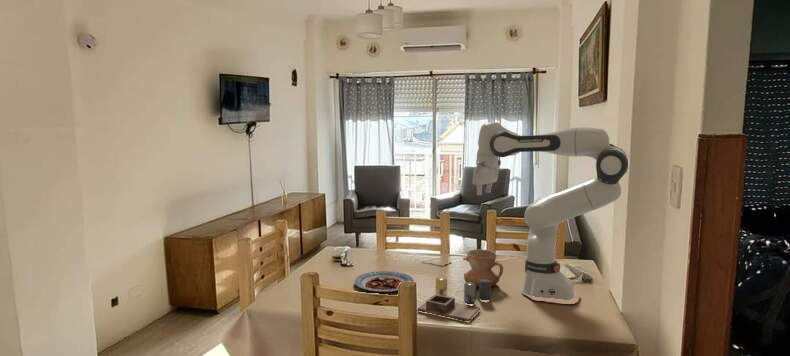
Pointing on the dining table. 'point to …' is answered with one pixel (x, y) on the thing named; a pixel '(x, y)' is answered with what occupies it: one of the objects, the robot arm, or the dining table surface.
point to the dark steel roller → (469, 292)
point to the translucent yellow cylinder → (441, 286)
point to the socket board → (448, 308)
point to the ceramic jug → (482, 267)
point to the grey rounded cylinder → (485, 289)
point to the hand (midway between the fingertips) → (483, 194)
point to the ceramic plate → (382, 280)
